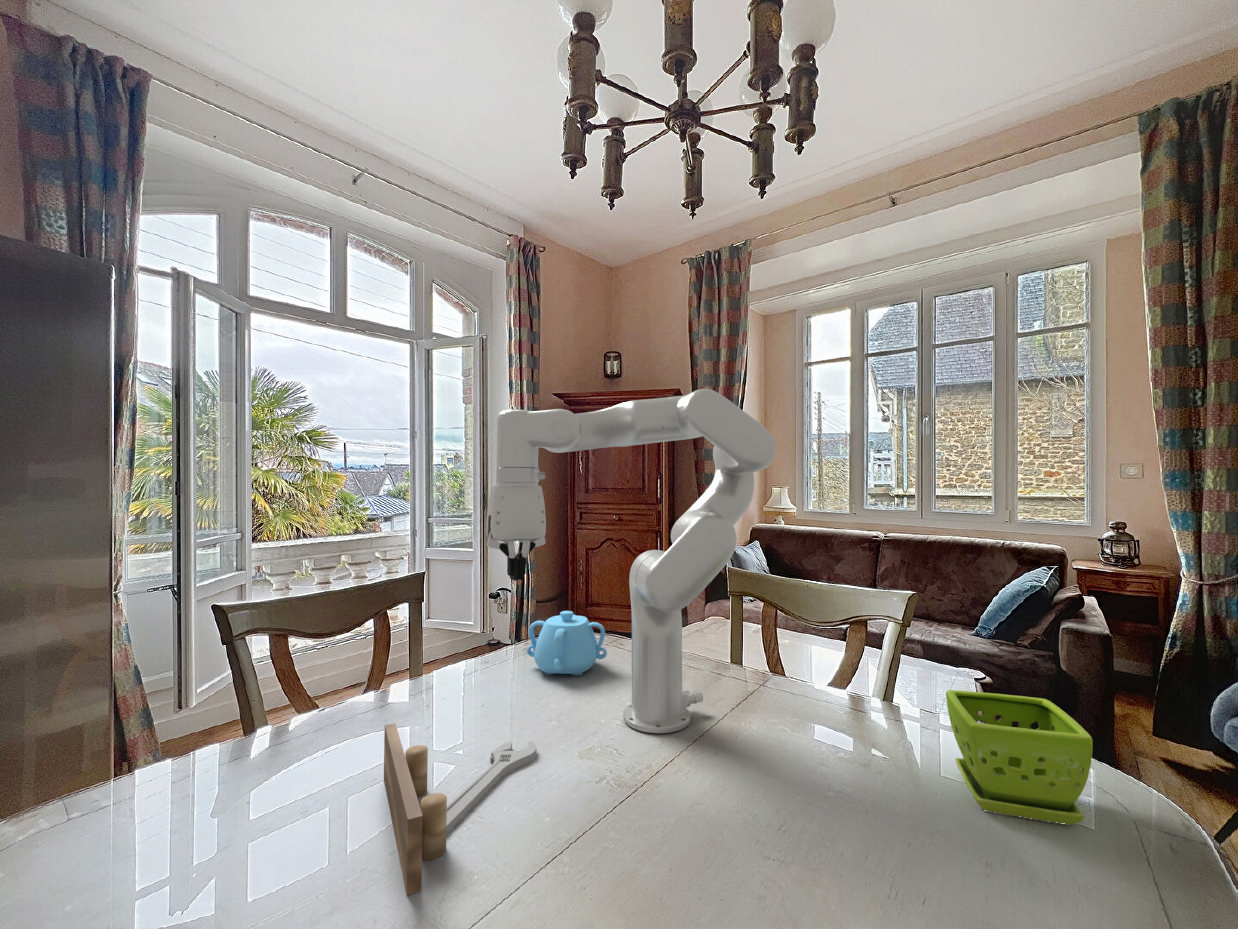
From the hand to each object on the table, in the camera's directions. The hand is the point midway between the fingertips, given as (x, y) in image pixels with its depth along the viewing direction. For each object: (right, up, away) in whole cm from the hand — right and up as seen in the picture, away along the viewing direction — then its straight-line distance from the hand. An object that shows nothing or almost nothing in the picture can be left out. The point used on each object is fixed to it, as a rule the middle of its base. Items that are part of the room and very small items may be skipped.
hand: (516, 579), depth 98 cm
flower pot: (+74, -27, -22) cm, 82 cm away
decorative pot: (+6, -29, +32) cm, 43 cm away
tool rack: (-8, -26, -27) cm, 38 cm away
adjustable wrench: (-2, -27, -19) cm, 33 cm away
